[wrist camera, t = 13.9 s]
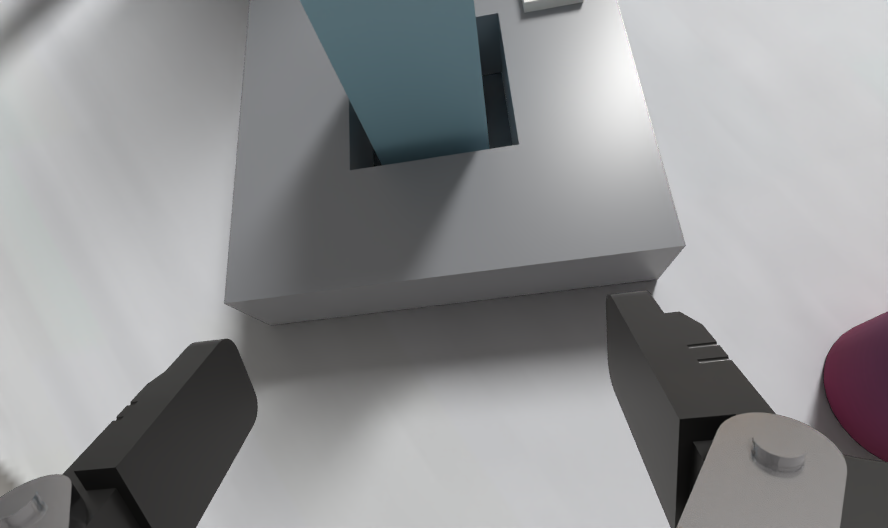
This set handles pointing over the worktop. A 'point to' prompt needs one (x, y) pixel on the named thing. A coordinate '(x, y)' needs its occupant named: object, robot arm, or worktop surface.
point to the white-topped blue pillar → (408, 73)
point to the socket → (446, 176)
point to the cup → (861, 384)
